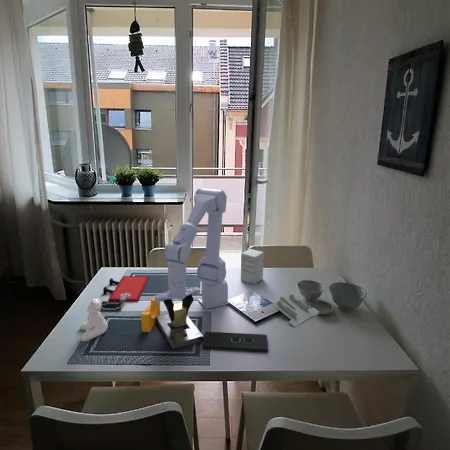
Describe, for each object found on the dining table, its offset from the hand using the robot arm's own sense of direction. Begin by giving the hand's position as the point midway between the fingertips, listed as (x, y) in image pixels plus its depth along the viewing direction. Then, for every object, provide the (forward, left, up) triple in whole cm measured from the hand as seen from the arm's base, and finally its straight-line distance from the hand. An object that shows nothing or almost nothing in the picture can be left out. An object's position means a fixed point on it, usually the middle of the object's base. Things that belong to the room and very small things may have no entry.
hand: (178, 317), depth 122 cm
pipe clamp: (+7, -10, -5) cm, 13 cm away
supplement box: (-43, -25, -5) cm, 50 cm away
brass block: (0, 0, -2) cm, 2 cm away
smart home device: (-14, +14, -6) cm, 21 cm away
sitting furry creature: (+25, -11, -5) cm, 28 cm away
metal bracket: (-42, +7, -6) cm, 43 cm away
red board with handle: (+10, -36, -6) cm, 38 cm away
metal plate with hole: (0, 0, -5) cm, 5 cm away
